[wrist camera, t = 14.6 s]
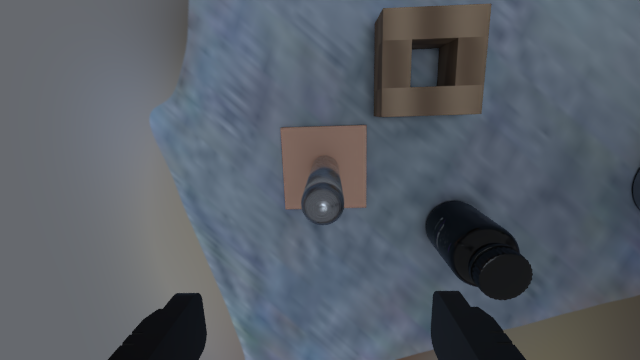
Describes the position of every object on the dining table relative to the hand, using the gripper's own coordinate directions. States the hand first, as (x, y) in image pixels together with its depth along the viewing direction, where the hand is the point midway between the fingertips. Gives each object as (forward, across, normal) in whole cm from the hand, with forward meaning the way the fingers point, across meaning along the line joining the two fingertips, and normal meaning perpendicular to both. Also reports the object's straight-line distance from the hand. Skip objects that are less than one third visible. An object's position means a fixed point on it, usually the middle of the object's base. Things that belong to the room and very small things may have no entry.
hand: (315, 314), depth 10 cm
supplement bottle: (+27, -16, +8) cm, 33 cm away
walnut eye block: (+27, -11, -11) cm, 31 cm away
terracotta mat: (+27, 0, 0) cm, 27 cm away
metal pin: (+26, 0, 0) cm, 26 cm away
